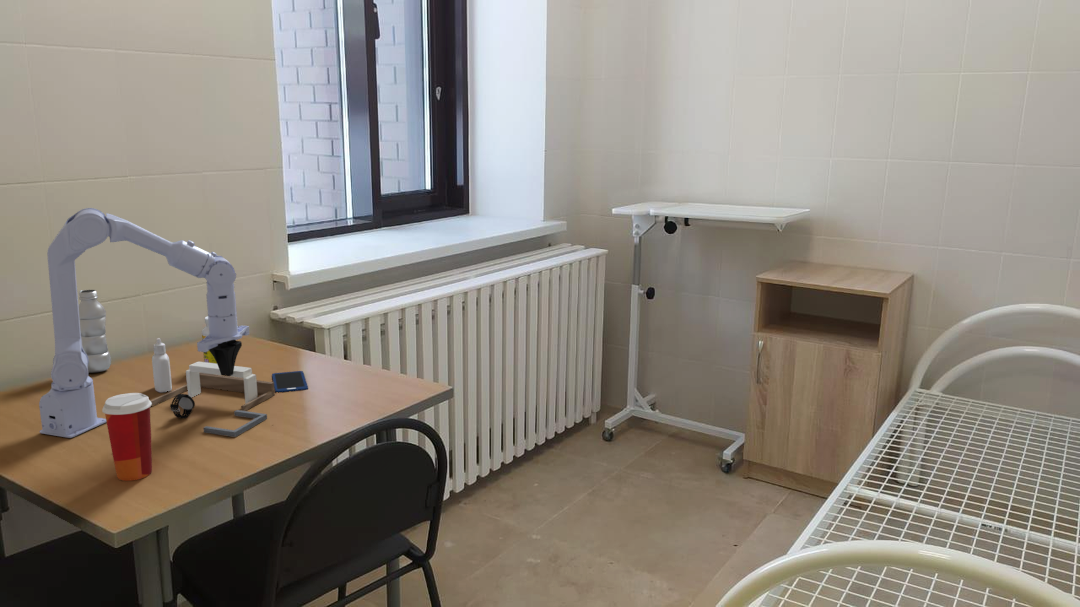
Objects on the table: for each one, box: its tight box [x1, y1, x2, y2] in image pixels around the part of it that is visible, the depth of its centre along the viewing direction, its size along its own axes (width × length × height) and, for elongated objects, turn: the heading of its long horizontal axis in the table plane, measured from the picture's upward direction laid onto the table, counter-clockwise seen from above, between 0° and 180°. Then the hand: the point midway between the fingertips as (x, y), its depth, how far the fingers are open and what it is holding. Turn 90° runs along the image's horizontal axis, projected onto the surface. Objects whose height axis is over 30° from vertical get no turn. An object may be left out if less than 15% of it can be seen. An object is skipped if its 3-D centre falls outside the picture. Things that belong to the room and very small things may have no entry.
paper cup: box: [101, 392, 153, 482], centre depth 143 cm, size 8×8×14 cm
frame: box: [202, 409, 268, 438], centre depth 167 cm, size 10×7×1 cm
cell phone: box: [271, 370, 309, 394], centre depth 194 cm, size 7×14×1 cm, turn 21°
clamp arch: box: [185, 361, 259, 404], centre depth 181 cm, size 3×16×8 cm, turn 73°
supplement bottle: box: [201, 315, 217, 364], centre depth 203 cm, size 7×7×13 cm
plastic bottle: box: [78, 289, 112, 374], centre depth 197 cm, size 6×7×20 cm
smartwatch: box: [169, 393, 196, 419], centre depth 170 cm, size 4×5×5 cm
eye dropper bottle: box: [151, 337, 173, 393], centre depth 186 cm, size 4×6×12 cm
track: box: [150, 373, 276, 411], centre depth 178 cm, size 21×21×3 cm
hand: (227, 375), depth 177 cm, fingers closed
